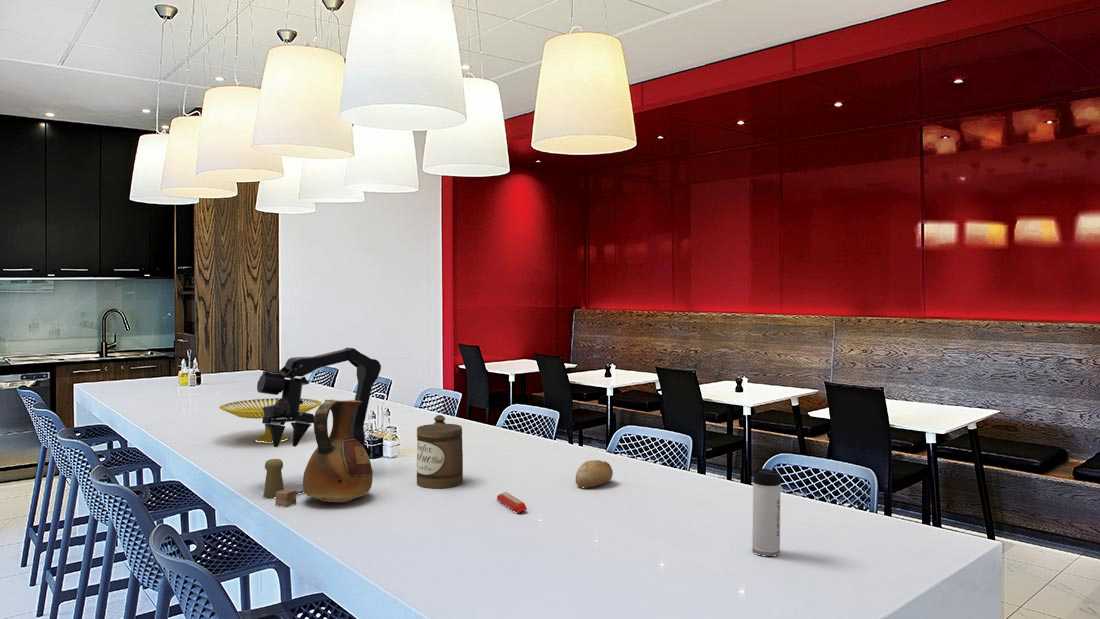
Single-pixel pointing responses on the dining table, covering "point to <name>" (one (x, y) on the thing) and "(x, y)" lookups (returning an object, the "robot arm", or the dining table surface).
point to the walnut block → (285, 497)
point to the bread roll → (593, 473)
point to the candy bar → (511, 502)
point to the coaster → (296, 488)
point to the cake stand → (259, 412)
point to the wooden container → (439, 454)
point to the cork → (273, 478)
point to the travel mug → (766, 512)
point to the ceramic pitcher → (337, 457)
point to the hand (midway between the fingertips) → (284, 446)
